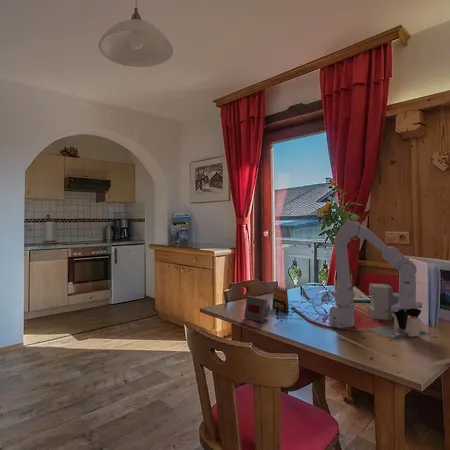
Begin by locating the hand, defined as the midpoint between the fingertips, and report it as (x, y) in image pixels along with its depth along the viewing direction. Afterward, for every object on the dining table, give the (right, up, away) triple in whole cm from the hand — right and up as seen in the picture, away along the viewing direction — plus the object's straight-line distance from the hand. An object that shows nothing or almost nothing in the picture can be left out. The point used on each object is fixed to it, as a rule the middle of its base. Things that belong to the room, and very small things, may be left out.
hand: (406, 328), depth 126 cm
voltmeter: (-48, -3, +19) cm, 52 cm away
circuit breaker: (+3, -3, +22) cm, 22 cm away
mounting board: (-1, -3, +3) cm, 5 cm away
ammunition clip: (-43, -3, +34) cm, 55 cm away
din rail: (0, -2, 0) cm, 2 cm away
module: (0, -2, 0) cm, 2 cm away
